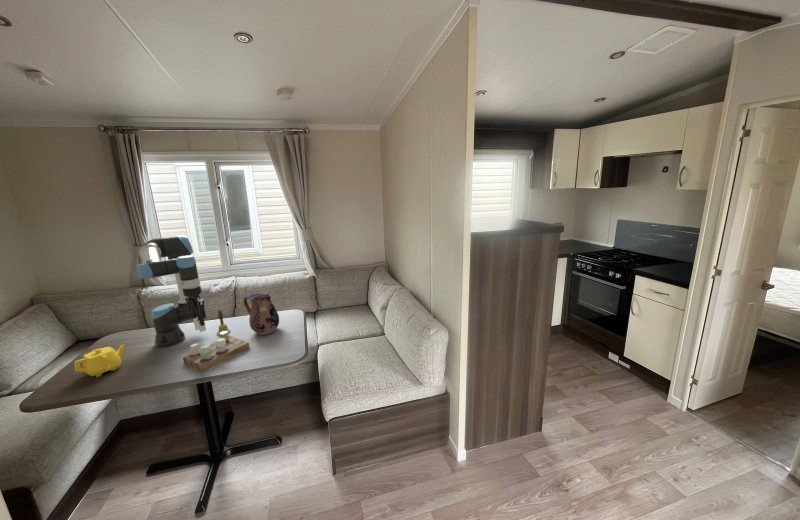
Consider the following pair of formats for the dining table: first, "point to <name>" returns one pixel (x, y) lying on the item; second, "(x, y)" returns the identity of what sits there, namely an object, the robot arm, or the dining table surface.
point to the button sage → (205, 350)
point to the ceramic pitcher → (262, 313)
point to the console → (216, 355)
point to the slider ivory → (194, 349)
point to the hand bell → (222, 324)
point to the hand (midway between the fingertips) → (200, 330)
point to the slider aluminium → (224, 335)
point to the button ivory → (220, 343)
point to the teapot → (100, 361)
